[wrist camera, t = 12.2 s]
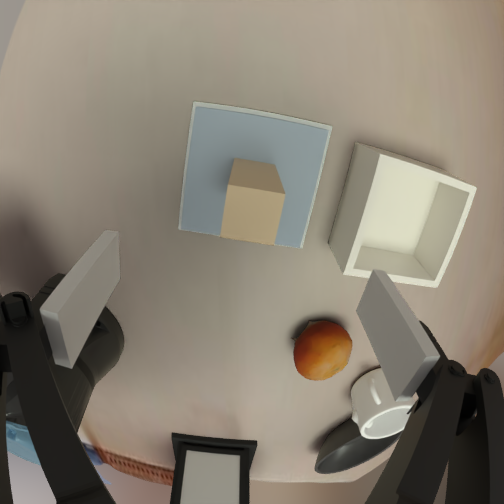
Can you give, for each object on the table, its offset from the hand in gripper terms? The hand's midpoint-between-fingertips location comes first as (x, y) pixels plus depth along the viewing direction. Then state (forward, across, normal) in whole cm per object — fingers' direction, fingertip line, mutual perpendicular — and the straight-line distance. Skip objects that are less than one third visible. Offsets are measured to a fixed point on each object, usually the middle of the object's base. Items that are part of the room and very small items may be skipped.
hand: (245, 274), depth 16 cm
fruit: (+19, +14, -20) cm, 31 cm away
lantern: (+20, +3, -60) cm, 63 cm away
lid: (+19, +1, 0) cm, 19 cm away
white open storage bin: (+19, +17, 0) cm, 25 cm away
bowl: (+20, +30, -45) cm, 57 cm away
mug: (+19, +26, -29) cm, 44 cm away
